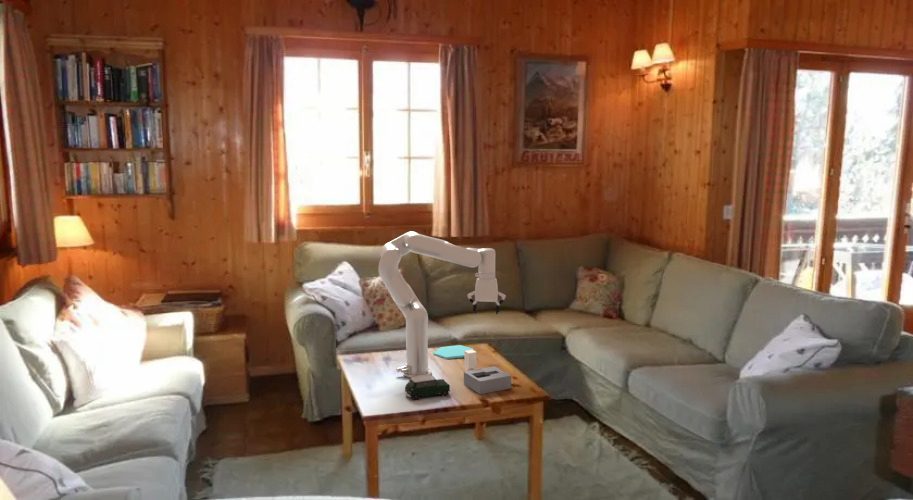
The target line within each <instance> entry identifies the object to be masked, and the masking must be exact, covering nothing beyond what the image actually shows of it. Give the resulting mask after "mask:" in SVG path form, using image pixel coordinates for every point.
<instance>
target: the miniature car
mask: <svg viewBox="0 0 913 500" xmlns="http://www.w3.org/2000/svg"><path fill="white" fill-rule="evenodd" d="M450 387H451V386H450V384H449V383H448V382H447V381H445V379H443V378H441V379H440V378H439V379H436V377H435V376H434V375H432V374H431V375H420V376H415V377H412V378H409V381H408V382H407V383H406V384H405V386H404V393H405V394H406V396H408V397H409V398H412V399H413V401H419V400H420V398H421V397H427V396H436V395H441V396H442V397H447V396H448V395H449V393H450V392H451V389H450Z"/></svg>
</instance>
